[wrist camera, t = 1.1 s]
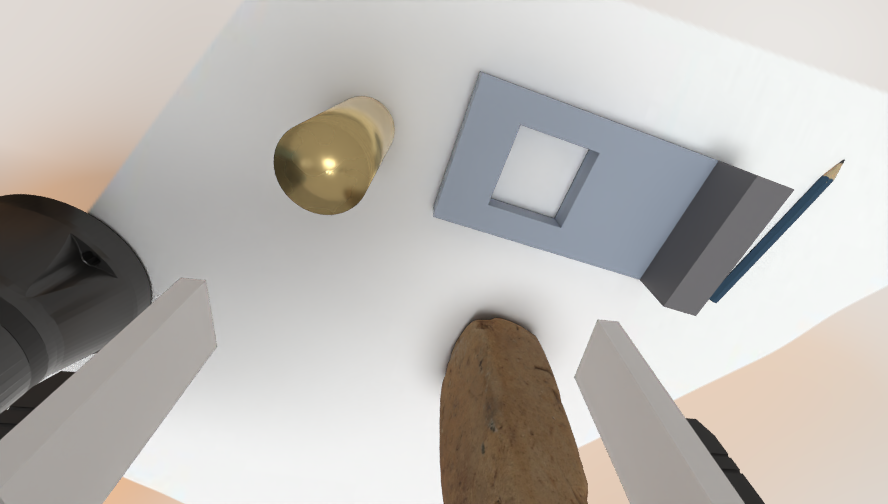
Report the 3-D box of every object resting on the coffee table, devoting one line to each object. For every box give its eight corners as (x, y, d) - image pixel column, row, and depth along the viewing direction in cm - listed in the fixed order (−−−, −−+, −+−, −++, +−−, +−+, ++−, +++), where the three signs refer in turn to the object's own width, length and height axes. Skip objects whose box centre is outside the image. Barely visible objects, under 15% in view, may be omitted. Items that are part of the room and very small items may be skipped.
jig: (433, 207, 32) (432, 238, 27) (480, 71, 28) (489, 75, 22) (657, 276, 36) (695, 315, 30) (733, 166, 31) (794, 189, 26)
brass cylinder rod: (328, 147, 30) (268, 199, 19) (340, 86, 28) (280, 107, 17) (385, 165, 31) (358, 225, 20) (401, 108, 29) (379, 140, 18)
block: (480, 299, 37) (519, 530, 19) (545, 328, 38) (636, 563, 21) (429, 374, 41) (423, 618, 23) (489, 396, 43) (526, 640, 25)
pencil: (704, 295, 37) (835, 155, 31) (712, 299, 37) (843, 160, 31) (710, 300, 36) (846, 158, 30) (718, 304, 37) (854, 163, 31)
